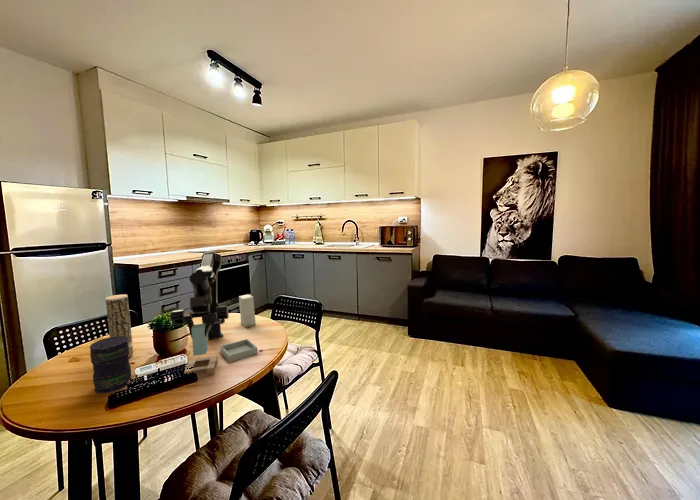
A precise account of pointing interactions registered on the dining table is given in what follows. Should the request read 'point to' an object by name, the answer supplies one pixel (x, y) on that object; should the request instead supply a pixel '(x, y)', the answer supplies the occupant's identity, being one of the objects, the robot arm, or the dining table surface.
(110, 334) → the bark covered log
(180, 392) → the dining table surface
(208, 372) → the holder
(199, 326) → the peg
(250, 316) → the skincare box
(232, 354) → the tray
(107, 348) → the dark grey cylinder
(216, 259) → the robot arm
